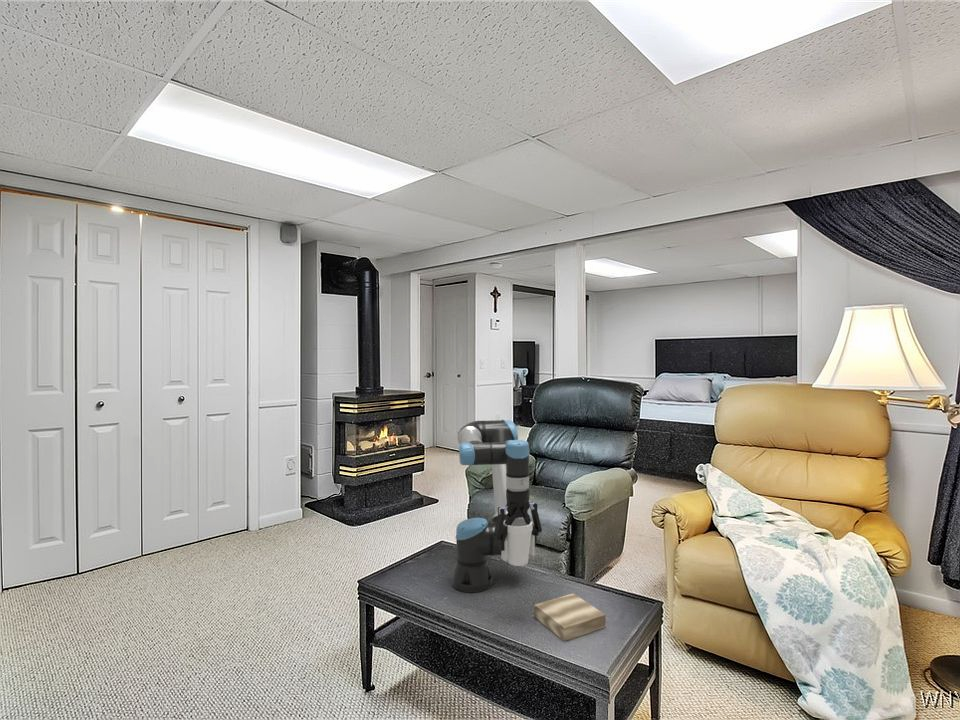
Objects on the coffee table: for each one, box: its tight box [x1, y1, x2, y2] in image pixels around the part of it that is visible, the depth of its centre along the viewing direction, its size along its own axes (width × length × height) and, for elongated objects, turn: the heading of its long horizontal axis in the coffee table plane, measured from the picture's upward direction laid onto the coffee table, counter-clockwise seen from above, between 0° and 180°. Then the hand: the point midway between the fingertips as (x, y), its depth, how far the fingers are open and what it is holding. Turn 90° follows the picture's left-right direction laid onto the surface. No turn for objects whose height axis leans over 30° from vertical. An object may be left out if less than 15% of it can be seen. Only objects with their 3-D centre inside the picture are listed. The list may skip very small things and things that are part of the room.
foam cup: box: [503, 517, 534, 567], centre depth 170 cm, size 10×9×13 cm
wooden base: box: [533, 592, 606, 642], centre depth 167 cm, size 16×16×4 cm
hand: (518, 557), depth 170 cm, fingers closed on foam cup, 9 cm apart
